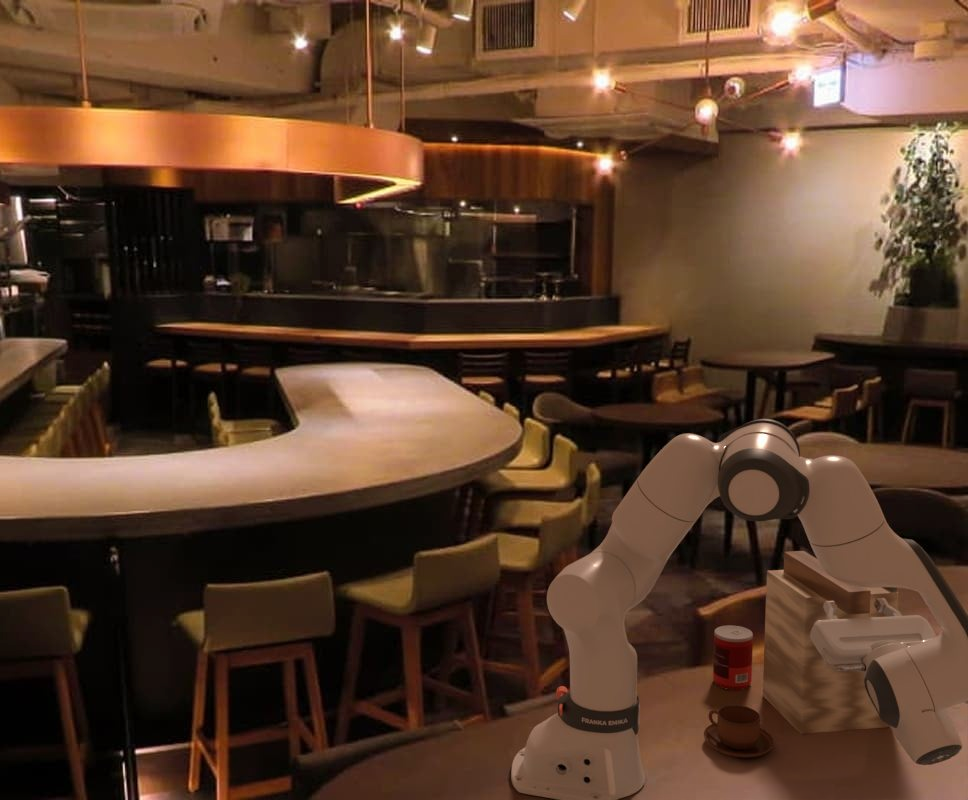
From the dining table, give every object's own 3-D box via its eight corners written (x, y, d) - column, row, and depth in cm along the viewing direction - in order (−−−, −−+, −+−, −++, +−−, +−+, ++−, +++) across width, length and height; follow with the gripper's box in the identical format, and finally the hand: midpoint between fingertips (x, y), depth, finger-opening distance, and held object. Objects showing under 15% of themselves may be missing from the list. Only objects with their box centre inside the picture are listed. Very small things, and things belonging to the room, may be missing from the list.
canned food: (755, 679, 192) (757, 629, 191) (744, 694, 186) (746, 642, 184) (720, 671, 196) (721, 622, 195) (707, 685, 190) (709, 634, 188)
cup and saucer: (696, 754, 162) (696, 721, 162) (712, 725, 173) (713, 694, 172) (765, 770, 157) (766, 736, 156) (778, 739, 167) (779, 707, 167)
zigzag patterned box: (800, 733, 169) (806, 591, 166) (762, 695, 185) (767, 564, 181) (891, 726, 172) (898, 586, 168) (846, 689, 187) (852, 560, 184)
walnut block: (847, 614, 157) (849, 591, 157) (783, 571, 181) (784, 551, 181) (869, 613, 158) (870, 590, 157) (802, 570, 182) (803, 550, 181)
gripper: (824, 683, 149) (792, 616, 160) (940, 676, 152) (900, 611, 163) (836, 659, 145) (802, 592, 156) (955, 652, 148) (913, 587, 159)
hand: (853, 601), depth 160 cm, fingers open, 8 cm apart
